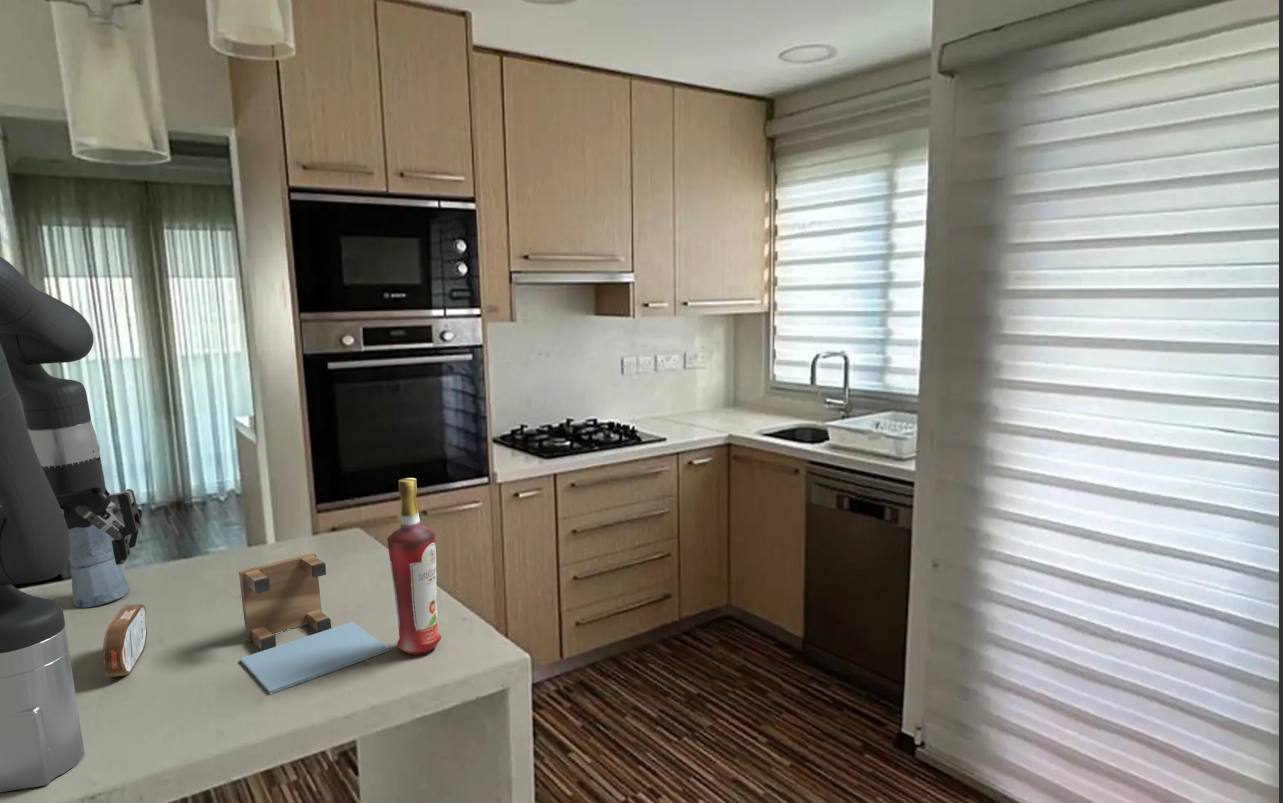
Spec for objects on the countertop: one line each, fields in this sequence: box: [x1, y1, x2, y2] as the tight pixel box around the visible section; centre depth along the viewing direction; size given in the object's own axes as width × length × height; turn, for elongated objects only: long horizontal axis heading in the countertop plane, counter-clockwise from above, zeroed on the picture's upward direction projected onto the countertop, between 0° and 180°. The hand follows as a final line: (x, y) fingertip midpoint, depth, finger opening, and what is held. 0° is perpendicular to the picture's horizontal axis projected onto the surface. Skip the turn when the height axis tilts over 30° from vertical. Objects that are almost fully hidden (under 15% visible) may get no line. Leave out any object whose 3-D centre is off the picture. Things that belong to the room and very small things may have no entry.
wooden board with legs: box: [238, 552, 332, 651], centre depth 127 cm, size 7×12×12 cm, turn 134°
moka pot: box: [68, 504, 143, 609], centre depth 144 cm, size 10×15×20 cm, turn 132°
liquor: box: [386, 477, 442, 656], centre depth 120 cm, size 7×7×28 cm
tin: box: [102, 603, 148, 679], centre depth 119 cm, size 15×3×8 cm, turn 21°
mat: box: [240, 621, 389, 694], centre depth 120 cm, size 14×18×1 cm
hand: (87, 567), depth 106 cm, fingers open, 8 cm apart
